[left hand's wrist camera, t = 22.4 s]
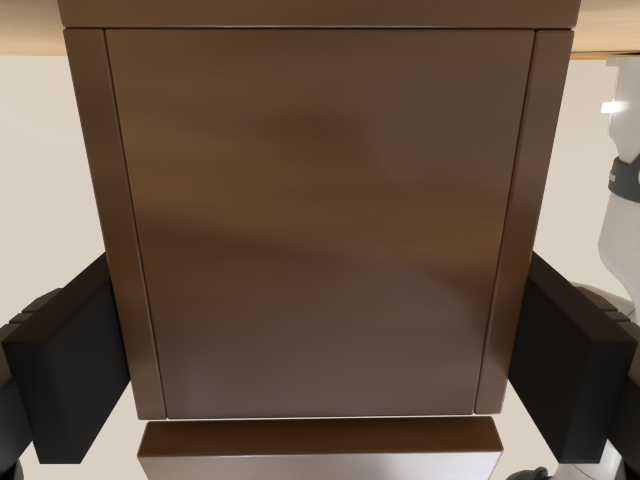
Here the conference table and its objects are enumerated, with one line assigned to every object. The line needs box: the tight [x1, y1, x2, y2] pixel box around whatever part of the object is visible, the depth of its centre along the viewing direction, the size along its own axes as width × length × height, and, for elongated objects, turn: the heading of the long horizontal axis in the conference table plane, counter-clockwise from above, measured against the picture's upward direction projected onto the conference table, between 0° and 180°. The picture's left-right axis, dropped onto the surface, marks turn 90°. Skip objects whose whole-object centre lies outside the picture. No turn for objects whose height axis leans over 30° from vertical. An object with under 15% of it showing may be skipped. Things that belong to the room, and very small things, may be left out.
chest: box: [57, 0, 581, 420], centre depth 17 cm, size 17×9×9 cm, turn 179°
